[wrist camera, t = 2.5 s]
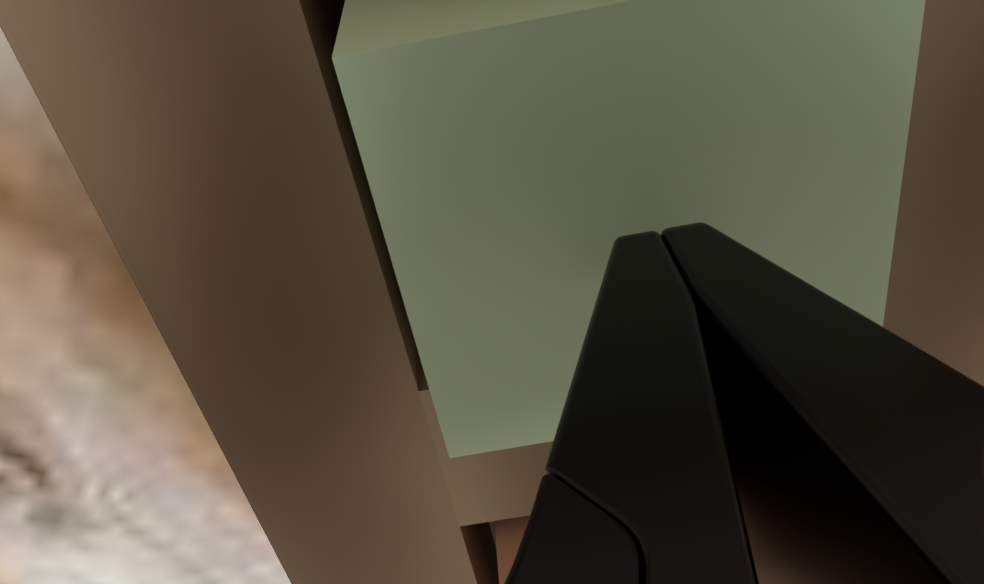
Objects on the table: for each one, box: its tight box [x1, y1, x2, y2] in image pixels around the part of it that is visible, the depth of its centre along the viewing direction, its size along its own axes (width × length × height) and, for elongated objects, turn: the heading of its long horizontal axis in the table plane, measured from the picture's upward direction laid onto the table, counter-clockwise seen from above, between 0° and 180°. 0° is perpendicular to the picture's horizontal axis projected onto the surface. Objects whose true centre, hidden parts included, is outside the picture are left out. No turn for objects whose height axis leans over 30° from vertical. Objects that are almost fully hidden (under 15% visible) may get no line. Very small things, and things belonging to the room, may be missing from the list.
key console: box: [0, 0, 984, 584], centre depth 17 cm, size 12×28×4 cm, turn 10°
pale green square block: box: [332, 0, 926, 458], centre depth 10 cm, size 5×5×3 cm
